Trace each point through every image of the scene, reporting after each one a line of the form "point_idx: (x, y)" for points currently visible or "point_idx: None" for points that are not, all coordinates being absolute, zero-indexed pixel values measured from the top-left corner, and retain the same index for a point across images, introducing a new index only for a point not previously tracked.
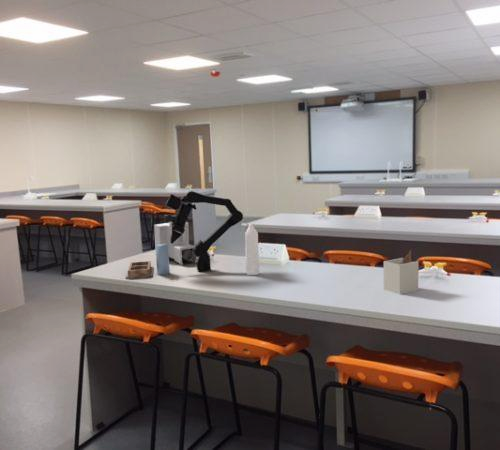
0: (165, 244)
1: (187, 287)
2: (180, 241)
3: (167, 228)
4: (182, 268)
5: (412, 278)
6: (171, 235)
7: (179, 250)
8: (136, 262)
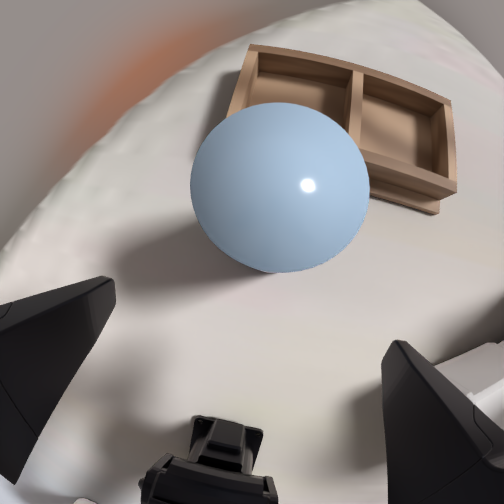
0: (280, 233)
1: (2, 272)
2: None
3: None
4: (346, 365)
5: None
6: (425, 386)
7: (464, 391)
8: (445, 120)
